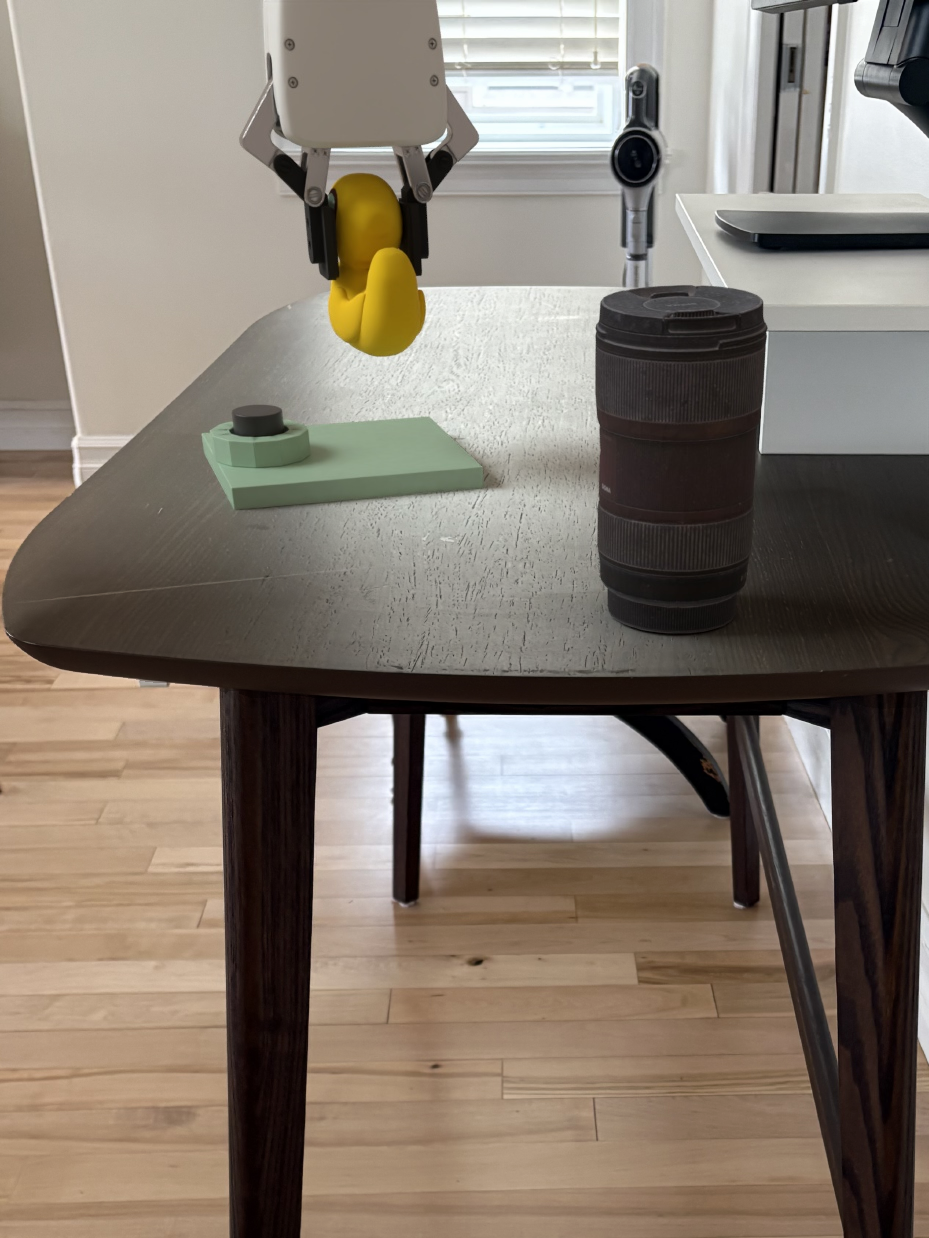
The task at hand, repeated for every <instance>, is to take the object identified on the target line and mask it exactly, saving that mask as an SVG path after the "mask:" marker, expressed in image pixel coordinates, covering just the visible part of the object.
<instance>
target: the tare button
mask: <svg viewBox="0 0 929 1238" xmlns="http://www.w3.org/2000/svg"><path fill="white" fill-rule="evenodd" d="M231 419H232V421H233V428H234V435H237V436H242V437H267V436H275V435H279V434H283V433H285V432H284V422H283V419H284V414H283V409H282V408H281V407H279V406H276V405H272V404H247V405H243V406H239V407H235V408H234V409H232V410H231Z"/></svg>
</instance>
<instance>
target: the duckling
mask: <svg viewBox="0 0 929 1238" xmlns="http://www.w3.org/2000/svg"><path fill="white" fill-rule="evenodd" d="M327 195H328V204H329V206H330V207H332V208H333V209H334V213H335V224H336V237H337V249H338V262H339V278H337V279H336V280H330V281H331V282H330V293H329V296H328V302H327V312H328V318H329V322H330V326H331V328H332V330H333V332H334V333H335V335H336V336H337V337H338V338H339V339H340V340H342V341H343V342H345V343H347V344H349V345H350V346H351V347H352V348H354V349H355V350H357V351H359V352H360V353H361V352H362V353H363V354H366V355H368V356H371V357H377V358H378V357H379V358H383V357H387V358H388V357H392V356H398V355H399V354H402V353H403V352H405V351H406V350H407V349H408V348H409V347H410V346H411V345H412V344H413V343H414V342H415V340H416V339H417V337H418V335H419V334H420V333H421V332H422V330H423V327H424V324H425V320H426V313H427V305H426V303H427V302H426V297H425V293H424V290H422V289H419V287H418V279H417V276H416V274H415V271H414V269H413V266H412V264H411V262H410V260H409V258H408V257H407V255H406V254H405V253H404V252H403V251H401V250H400V249H399V246H400V243H401V239H402V233H403V219H402V212H401V208H400V204H399V200H398V197H397V195H396V193H395V191H394V189H393V188H392V186H391V185H390V184H389V183H388V182H387V180H385V179H383V178H382V177H380V176H379V175H376V174H373V173H368V172H367V173H366V172H352V173H347V174H344V175H343V176H341V177H339V178H338V179H337V180H336V181H335V182H334V183H333V185H332V186H331V188H330V190H329V192H328V193H327Z"/></svg>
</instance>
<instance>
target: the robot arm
mask: <svg viewBox="0 0 929 1238" xmlns="http://www.w3.org/2000/svg"><path fill="white" fill-rule="evenodd" d="M439 18H440V17H439V9H438V4H437V0H262V20H263V47H264V66H265V81H266V82H265V84H266V85H265V87H264V89H263V90H262V93H261V94H260V96H259V98H258V100H257V102H256V104H255V106H254V108H253V110H252V111H251V114H250V115H249V117H248V118H247V121H246V123H245V125H244V126H243V129H242V130H241V133H240V135H239V137H238V142H239V146H240V147H241V148H242V149H243V150H244V151H246V152H247V153H248V154H249V155H251V156H252V157H254V158H255V159H256V160H257V161H259V162H260V163H261V164H263V165H264V166H265V167H267V168H268V169H269V170H271V171H272V172H273V173H275V175H276V176H277V177H278V178H279V179H280V180H281V181H282V182H283V183H285V185H287V187H288V188H289V189H290V190H291V191H292V192H293V193H294V194H295V195H296V196H297V197H298V198H299V199H300V200H301V201H302V202H303V205H304V206H303V208H304V219H305V230H306V242H307V253H308V259H309V262H310V264H312V265H317V266H318V271H319V274H320V275H321V276H322V277H323V278H324V279H325V280H327V281H331V280H336V279H337V278H339V257H338V249H337V237H336V224H335V213H334V209H333V208H332V207H330V206H329V204H328V193H326V190H327V182H328V176H329V175H328V174H329V167H330V160H331V152H332V149H356V148H358V149H359V148H392V151H393V156H394V159H395V163H396V167H397V171H398V174H399V178H400V182H401V185H402V187H401V188H400V197H397V199H398V201H399V204H400V208H401V212H402V219H403V233H402V239H401V243H400V246H399V249H400V250H401V251H403V252H404V253H405V254H406V255H407V257H408V258H409V260H410V262H411V264H412V266H413V269H414V271H415V274H416V277H422V275H423V263H422V260H428V259H429V257H430V243H429V224H428V204H427V203H429V202H430V201H431V200H432V198H433V196H434V195H433V194H434V193H435V191H436V190H437V189H438V187H440V185H441V183H442V182H443V181H444V180H445V178H446V177H447V176H448V174H449V173H450V172H451V170H452V169H453V167H454V166H455V165H456V164H457V163H459V162H460V161H461V160H462V159H463V158H464V157H465V156H466V155H467V154H468V153H470V151H471V150H473V149H474V148H475V147H476V146H477V145H478V144H479V140H480V135H479V132H478V130H477V129H476V127H475V126H474V124H473V123H472V121H471V120H470V118H469V116H468V115H467V113H466V112H465V110H464V109H463V107H462V105H461V104H460V103H459V101H458V99H457V98H456V96H455V95H454V93H453V92H452V90H451V89H450V87H449V86H448V84H447V81H446V80H447V79H446V70H445V69H446V68H445V59H444V51H443V41H442V33H441V32H442V31H441V25H440V19H439ZM272 132H274V133H275V134H276V135H277V136H279V137H281V138H282V139H285V140H287V141H289V142H290V143H292V144H293V145H296V146H300V147H301V148H300V157H299V164H298V163H297V162H296V161H295V159H294V158H292V157H291V156H289V155H288V153H286V152H285V151H284V150H281V149H280V148H279V147H278V146H277V145H276V144H274V143H273V141H272V135H271V134H272ZM445 133H446V135H445V138H443V140H441V143H439V144H438V145H437V146H436V147H435V148H433V149H431V150H430V151H429V153H428V154H427V155H426V156H425V155H424V151H423V147H422V146H425V145H429V144H432V143H434V142H436V141H438V140H440V139H441V138H442V137H443V136H444V134H445Z"/></svg>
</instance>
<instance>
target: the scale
mask: <svg viewBox="0 0 929 1238" xmlns="http://www.w3.org/2000/svg"><path fill="white" fill-rule="evenodd" d="M283 422H284V432H285V433H283V434H279V435H275V436H267V437H242V436H237V435H234V428H233V420H231V421H227V422H222V423H219V424H218V425H216V426H214V427H213V428H211V429H210V430H209V432H202V433H201V437H202V438H201V441H202V449H203V454H204V456H205V457H206V460H207V462H208V463H209V466H210V467H211V469H212V471H213V473H214V475H215V477H216V479H217V480H218V482H219V484H220V486H221V488H222V490H223V492H224V493H225V496H226V498H227V499H228V501H229V503H230V505H231V507H232V510H234V511H236V510H248V509H260V508H273V507H283V506H284V507H285V506H294V505H295V506H297V505H306V504H316V503H327V502H328V503H329V502H339V501H351V500H352V501H353V500H363V499H373V498H374V499H375V498H385V497H387V498H388V497H396V496H398V497H399V496H407V495H408V496H409V495H410V496H411V495H418V494H419V495H420V494H431V493H442V492H454V491H465V490H477V489H484V488H485V486H484V484H485V483H484V467H483V466H482V464H480V463H479V462H478V461H477V460H476V459H475V458H474V457H473V456H472V455H471V454H470V453H469V452H468V451H467V450H465V448H464V447H462V446H461V445H460V444H459V443H458V442H457V441H456V440H455V439H454V438H453V437H451V435H450V434H448V433H447V432H446V430H444V429H443V428H442V427H441V426H440V424H438V423H437V422H436V421H435V420H434V419H433V418H431V416H429V415H428V416H416V417H402V418H391V419H375V420H362V421H361V420H360V421H348V422H336V423H335V422H334V423H333V422H332V423H322V424H321V423H319V424H308V425H307V424H305V423H302V422H299V421H296V420H292V419H286V418H283Z"/></svg>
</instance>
